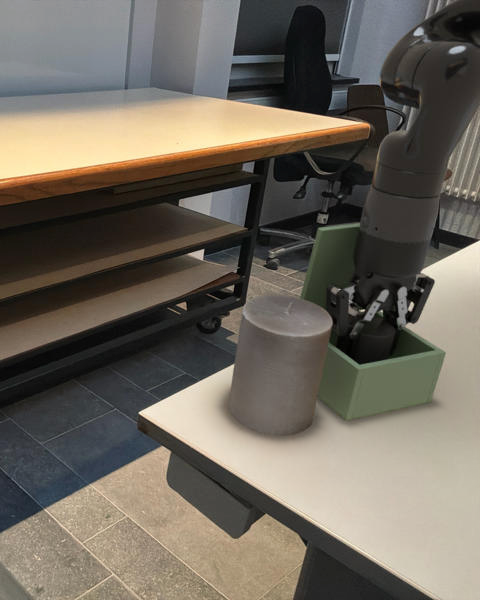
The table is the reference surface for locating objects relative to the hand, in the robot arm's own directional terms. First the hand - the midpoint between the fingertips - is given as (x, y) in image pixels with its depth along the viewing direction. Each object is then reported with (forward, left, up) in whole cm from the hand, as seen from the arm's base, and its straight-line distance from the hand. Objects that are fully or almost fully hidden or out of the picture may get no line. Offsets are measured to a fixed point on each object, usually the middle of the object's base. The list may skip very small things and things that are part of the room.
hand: (364, 356), depth 83 cm
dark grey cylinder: (0, 0, -4) cm, 4 cm away
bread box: (0, 0, -5) cm, 5 cm away
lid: (0, -5, +9) cm, 11 cm away
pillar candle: (+14, +1, -5) cm, 15 cm away
